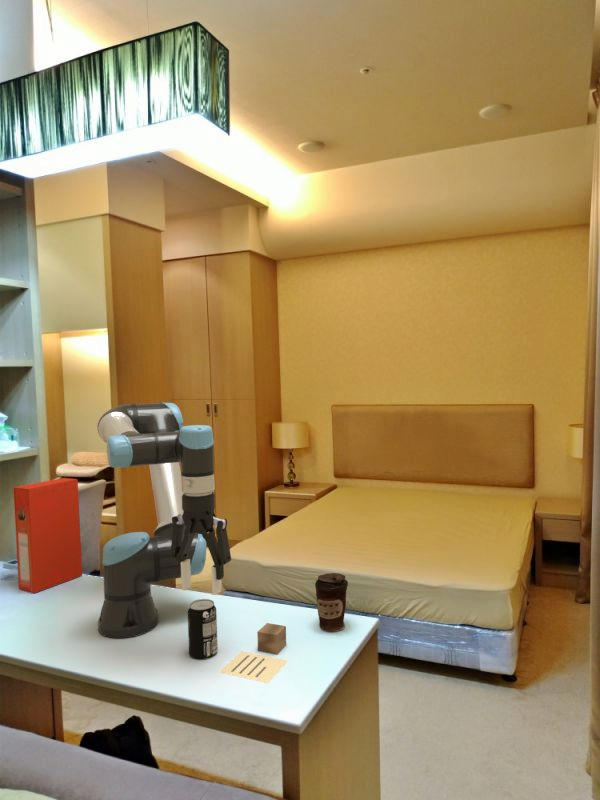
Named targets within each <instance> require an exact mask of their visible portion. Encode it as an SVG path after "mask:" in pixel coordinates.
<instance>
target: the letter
mask: <svg viewBox="0 0 600 800" xmlns="http://www.w3.org/2000/svg"><path fill="white" fill-rule="evenodd" d="M288 661H289V660H287V659H282V658H278V657H272V656H269V655H264V654H263V655H262V654H257V653H253V652H247V651H243V650H242V651H240V653H238V654H237V655H236V656H235V657H234V658H233V659H232V660H230V662H229V663H227V664H226V665H225V666H224V667H223V668H222V669H221V670H220V671H219V673H221V674H226V675H231V676H234V677H240V678H244V679H248V680H253V681H257V682H261V683H266V684H269V683H270V682H271V681H272V680H273V679H274V677H275V676H276V675H277V674H278V673H279V672H280V671H281V669H282V668H283V667H284V666H286V664H287V663H288Z"/></svg>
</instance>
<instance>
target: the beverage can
mask: <svg viewBox="0 0 600 800" xmlns="http://www.w3.org/2000/svg"><path fill="white" fill-rule="evenodd" d="M217 617H218V615H217V608H216V606H215V602H214V600H212V599H208V598H207V599H206V598H201V599H195V600H193V601H191V602H190V603H189V608H188V610H187V630H188V631H187V633H188V635H187V636H188V637H187V638H188V654H189V655H190V657H191V658H193V659H196V660H206V659H210V658H212V657H214V656H215V655H216V654H217V652H218V650H219V649H218V622H217V621H218V620H217Z"/></svg>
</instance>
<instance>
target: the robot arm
mask: <svg viewBox="0 0 600 800" xmlns="http://www.w3.org/2000/svg"><path fill="white" fill-rule="evenodd" d="M96 426H97V433H98V435H99V437H100V439H101V440H102V441H103V442H104V443H106V455H107V456H106V459H107V462H108V465H109V467H111V468H124V469H126V468H130V467H141V466H149V473H150V479H151V480H150V481H151V485H152V487H151V488H152V493H153V498H154V507H155V513H156V519H157V520H156V521H157V526H156V527H155V529H154V530H153V536H152V537H150V535H149V533H147V532H146V531H139V532H137V531H134V532H128V533H124V534H121V535H118V536H115V537H112V538H111V539H110V540H108V541H107V542H106V543H105V544H104V546H103V549H102V560H101V562H102V567H103V591H104V594H103V596H104V600H103V604H102V606H101V610H100V615H99V617H98V620H97V621H98V622H97V626H98V632H99V634H100V635H102V636H104V637H107V638H112V639H113V638H114V639H124V638H125V639H126V638H132V637H137V636H140V635H143V634H146V633H148V632H150V631H152V630H153V629H155V628H156V627H157V626H158V624H159V622H160V620H159V619H160V618H159V617H160V616H159V611H158V609H157V607H156V604H155V602H154V599H153V595H152V592H151V591H152V589H151V588H152V587H151V586H152V585H151V584H152V583H158V582H163V581H169V580H175V579H180V580H181V581H180V583H181V584H180V585H181V590H182V591H185V590H187V589H189V588H190V587H191V586H192V584H191V583H192V580H191V579H192V576H195V575H196V576H197V575H199V574H201V573H202V572H203V571H204V568H205V566H206V565H205V564H206V561H207V560H206V559H207V549H208V551H209V554H210V557H211V560H212V562H213V565H211V567H210V568H211V592H212V593H211V595H212V596H216V595H218V594H219V593H220V592H221V591H222V579H224V577H225V572H224V571H225V570H224V565H226V564H228V563H230V562H231V561H232V556H231V549H230V548H231V547H230V545H229V537H228V531H227V525H228V519H227V518H221V519H220V518H218V517H217V515H216V513H215V509H216V494H215V493H214V491H215V489H216V487H215V485H216V484H215V470H214V469H215V460H214V459H215V457H214V455H215V454H214V452H215V451H214V444H215V439H214V433H213V428H212V426H210V425H204V424H195V425H194V424H193V425H184V419H183V415H182V411H181V409H180V408H179V407H178V405H177V404H175V403H174V402H163V401H162V402H156V403H155V402H154V403H127V404H120V405H117V406H114V407H113V408H110V409H109V410H106V412H105V413H103V414H102V416H101V417H100V418H99V420H98V423H97V425H96ZM214 525H215V526H214ZM215 529H216V530H215ZM221 593H222V592H221Z"/></svg>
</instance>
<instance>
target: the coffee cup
mask: <svg viewBox="0 0 600 800" xmlns="http://www.w3.org/2000/svg"><path fill="white" fill-rule="evenodd" d="M314 586H315V596H316V606H317V614H318V623H319V624H318V625H319V628H320V629H322V631H327V632H339V631H341V630H342V631H343V630H344V629H345V625H346V624H345V620H344V618H345V613H346V608H347V589H348V586H349V581H348V580H347V579H346V575H344V574H341V573H339V572H337V573H336V572H330V573H324V574H321V575H318V576H317V580H316V581H315V583H314Z"/></svg>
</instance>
